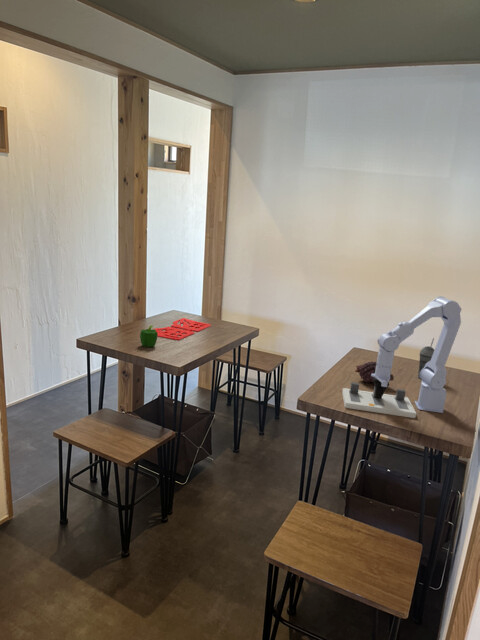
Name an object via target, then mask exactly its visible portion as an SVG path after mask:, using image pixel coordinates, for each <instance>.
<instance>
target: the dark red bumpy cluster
mask: <svg viewBox="0 0 480 640" xmlns="http://www.w3.org/2000/svg"><path fill="white" fill-rule="evenodd" d="M376 364H377V361H367V362H365V363H364V364H359V365H355V366H356V369H355V373H359V374H358V375H359V376H360V379H362V381H364V382H366V383H367V384H368V383H374V380H373V379H374V378H375V377H372V376H371V374H375V370H376ZM394 378H395V376H394V374H392V372H391V373H390V380H389V381H388V382H392V381H394V380H395V379H394Z"/></svg>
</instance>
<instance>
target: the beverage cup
mask: <svg viewBox="0 0 480 640" xmlns="http://www.w3.org/2000/svg"><path fill="white" fill-rule="evenodd" d="M434 340H435V338H434V337H433V338H432V340H431V343H430V346H424V347H423V348H422V349H420V351H419V362H418V372H417V378H418V379H419V380H422V379H421V378H420V372H421V370H422V369H423V368H424V367H425V364H426V363H427V362H429V361H431V358H432V355H433V353H434V350H435V348H433V343H434Z"/></svg>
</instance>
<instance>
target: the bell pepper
mask: <svg viewBox="0 0 480 640" xmlns="http://www.w3.org/2000/svg"><path fill="white" fill-rule="evenodd" d="M153 327H154V326H153V325H152V324H151V325H150V326H148V328H145V329H141V330H140V334H139V338H140V344H141V346H142V347H146V348H154V347H155V346H156V343H157V340H158V337H157V335H158V334H157V332H156V330H155V328H153ZM152 328H153V330H152Z"/></svg>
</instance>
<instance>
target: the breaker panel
mask: <svg viewBox="0 0 480 640" xmlns="http://www.w3.org/2000/svg"><path fill="white" fill-rule="evenodd" d="M341 392H342V399H343V403H344V404H343V405H344V409H351V410H358V411H359V410H360V411H364V412H371V413H377V414H378V413H379V414H385V415H391V416H399V417H404V418H405V417H406V418H412V419H416V418H417V417H416V416H417V412H416V410H415V408H414V406H413V404H412V403H411V401H410V399H409V397H408V396H405V398H404V401H403V400H396V398H395V397H396V394H395V395H393V394H386V393H384V394H383V396H382V398H381V399H379V398H374V397H373V392H374V391H366V390H358V394H355V393H350V388H347V387H346V388H344V387H342V391H341Z"/></svg>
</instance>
